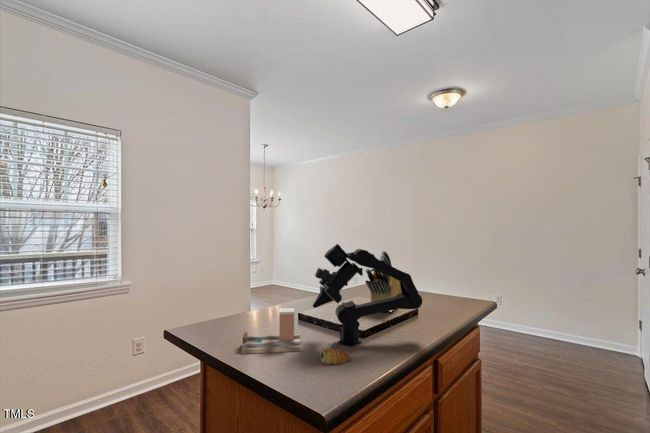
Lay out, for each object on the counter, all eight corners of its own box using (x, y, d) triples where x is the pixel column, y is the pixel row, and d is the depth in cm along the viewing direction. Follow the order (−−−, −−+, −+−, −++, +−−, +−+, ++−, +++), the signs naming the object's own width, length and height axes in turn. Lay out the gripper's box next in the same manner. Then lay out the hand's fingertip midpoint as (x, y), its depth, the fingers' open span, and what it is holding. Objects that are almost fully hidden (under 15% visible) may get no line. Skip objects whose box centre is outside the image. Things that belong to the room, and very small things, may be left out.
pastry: (346, 355, 107) (346, 344, 107) (352, 364, 100) (352, 352, 100) (319, 357, 105) (319, 346, 105) (323, 366, 98) (323, 354, 98)
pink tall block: (293, 337, 117) (293, 307, 117) (294, 342, 112) (294, 311, 112) (279, 338, 116) (279, 308, 117) (279, 343, 111) (279, 312, 112)
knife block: (363, 315, 154) (363, 251, 154) (385, 300, 185) (385, 246, 185) (386, 318, 148) (386, 252, 149) (405, 302, 179) (404, 247, 180)
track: (299, 340, 120) (299, 328, 120) (301, 350, 110) (301, 337, 110) (244, 343, 117) (245, 330, 117) (241, 353, 107) (242, 340, 107)
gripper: (324, 257, 126) (296, 286, 124) (332, 263, 108) (299, 297, 106) (344, 277, 127) (316, 306, 125) (355, 286, 109) (322, 320, 107)
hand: (313, 306), depth 116 cm, fingers closed
